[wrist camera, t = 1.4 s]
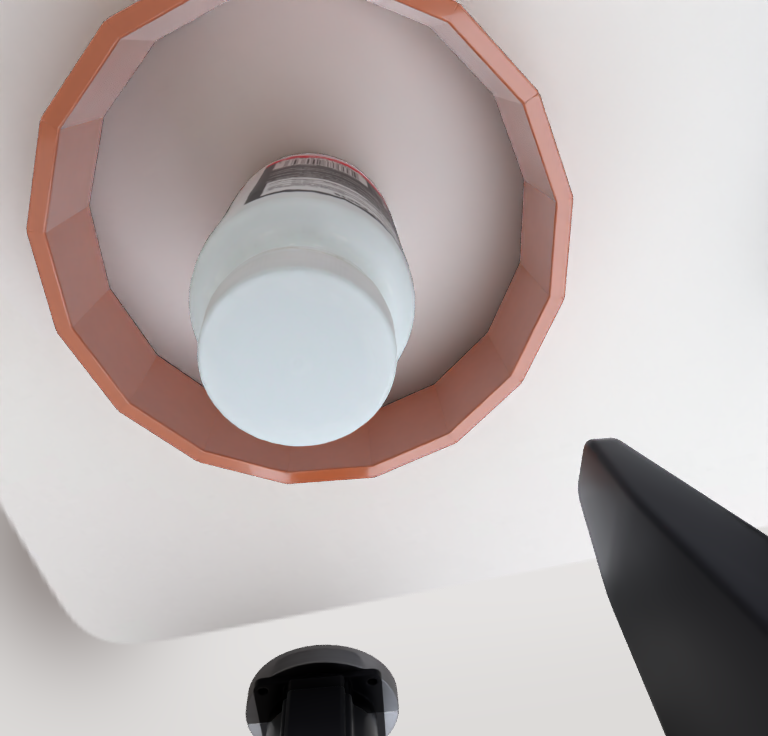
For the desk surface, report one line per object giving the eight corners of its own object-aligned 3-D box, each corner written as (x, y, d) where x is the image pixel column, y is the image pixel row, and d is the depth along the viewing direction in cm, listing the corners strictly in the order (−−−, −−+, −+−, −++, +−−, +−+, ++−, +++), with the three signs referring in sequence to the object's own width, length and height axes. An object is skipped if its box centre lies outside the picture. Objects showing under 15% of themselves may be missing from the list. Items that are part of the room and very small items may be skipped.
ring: (524, 412, 25) (551, 464, 22) (135, 440, 24) (105, 498, 21) (551, -42, 18) (596, -60, 15) (16, -17, 18) (-53, -31, 15)
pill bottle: (314, 339, 23) (299, 517, 14) (196, 232, 21) (96, 363, 12) (426, 236, 22) (486, 364, 13) (311, 111, 20) (291, 163, 11)
